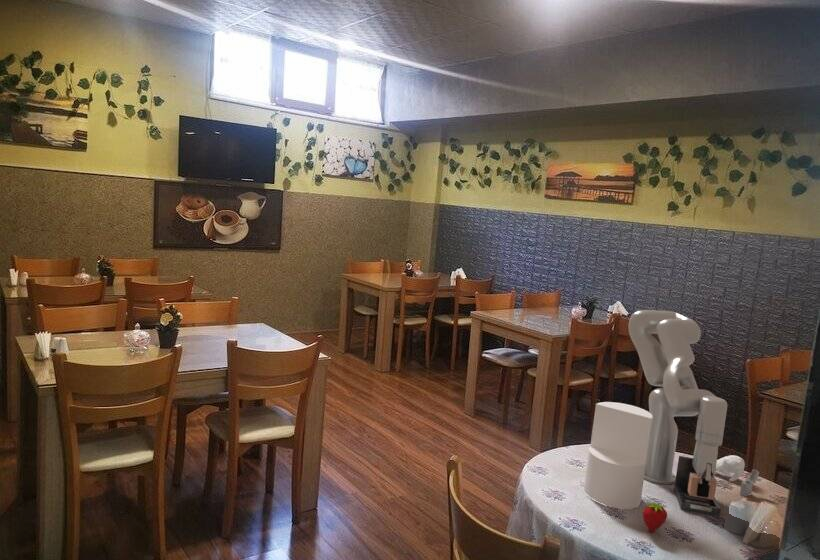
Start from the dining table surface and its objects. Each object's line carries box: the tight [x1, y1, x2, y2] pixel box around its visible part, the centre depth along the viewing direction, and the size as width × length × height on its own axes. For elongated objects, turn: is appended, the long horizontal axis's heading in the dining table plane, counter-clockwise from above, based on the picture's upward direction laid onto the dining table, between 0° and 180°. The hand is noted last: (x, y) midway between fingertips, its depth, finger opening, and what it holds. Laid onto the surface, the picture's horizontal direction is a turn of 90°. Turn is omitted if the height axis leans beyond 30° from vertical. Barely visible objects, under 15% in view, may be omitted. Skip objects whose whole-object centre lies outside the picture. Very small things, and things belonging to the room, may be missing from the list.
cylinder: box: [583, 401, 653, 510], centre depth 192 cm, size 17×17×28 cm
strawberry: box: [641, 499, 668, 533], centre depth 172 cm, size 6×8×10 cm
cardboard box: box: [688, 473, 717, 500], centre depth 189 cm, size 7×4×6 cm, turn 75°
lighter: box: [739, 469, 760, 497], centre depth 204 cm, size 7×2×8 cm, turn 122°
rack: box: [673, 455, 722, 518], centre depth 193 cm, size 11×14×12 cm
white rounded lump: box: [716, 454, 746, 482], centre depth 216 cm, size 6×8×12 cm
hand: (700, 492), depth 189 cm, fingers closed on cardboard box, 3 cm apart
